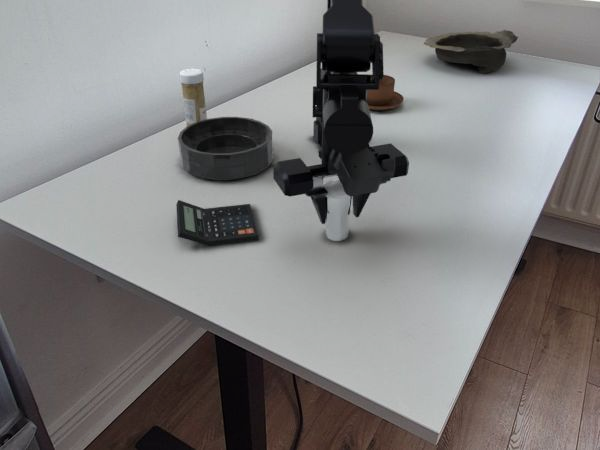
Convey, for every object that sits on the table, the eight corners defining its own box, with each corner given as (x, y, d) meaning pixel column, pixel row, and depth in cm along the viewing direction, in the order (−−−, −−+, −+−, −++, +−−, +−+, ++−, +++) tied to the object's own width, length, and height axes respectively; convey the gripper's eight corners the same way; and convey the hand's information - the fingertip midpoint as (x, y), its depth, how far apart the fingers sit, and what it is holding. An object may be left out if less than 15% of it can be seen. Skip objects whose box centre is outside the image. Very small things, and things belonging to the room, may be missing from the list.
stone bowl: (526, 77, 145) (532, 41, 140) (431, 84, 146) (433, 49, 141) (499, 50, 165) (503, 18, 160) (416, 56, 167) (417, 24, 162)
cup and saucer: (378, 118, 122) (381, 91, 119) (340, 104, 129) (341, 78, 126) (413, 105, 129) (416, 79, 125) (375, 92, 136) (377, 67, 133)
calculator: (258, 240, 82) (257, 223, 80) (179, 249, 80) (177, 232, 78) (250, 208, 90) (249, 192, 88) (178, 216, 88) (175, 200, 86)
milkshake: (358, 227, 85) (359, 170, 79) (345, 246, 81) (345, 187, 75) (330, 221, 86) (329, 165, 81) (317, 240, 82) (315, 182, 77)
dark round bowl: (258, 137, 113) (257, 112, 110) (284, 173, 100) (284, 146, 97) (175, 149, 109) (171, 123, 106) (191, 189, 95) (187, 161, 92)
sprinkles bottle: (212, 136, 114) (206, 72, 107) (192, 141, 112) (184, 76, 104) (203, 129, 117) (196, 66, 110) (183, 133, 115) (175, 70, 108)
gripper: (298, 156, 64) (298, 262, 73) (436, 134, 70) (421, 235, 78) (270, 122, 73) (273, 220, 82) (394, 104, 79) (385, 198, 87)
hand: (339, 219), depth 82 cm, fingers closed on milkshake, 5 cm apart
